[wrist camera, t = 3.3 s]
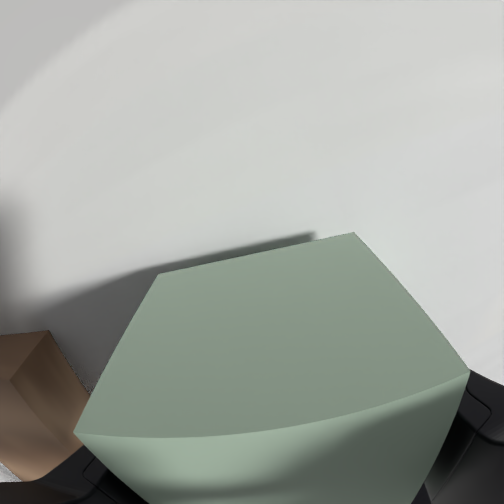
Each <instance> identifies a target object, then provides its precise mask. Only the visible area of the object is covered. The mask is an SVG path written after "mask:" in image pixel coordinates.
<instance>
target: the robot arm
mask: <svg viewBox="0 0 504 504" xmlns="http://www.w3.org/2000/svg"><path fill="white" fill-rule="evenodd" d="M469 370H470V369H469ZM470 371H471V372H470V375H469V378H468V381H467V384H466V387H465V390H464V393H463V396H462V399H461V402H460V404H459V407H458V410H457V412H456V415H455V417H454V420H453V422H452V425H451V427H450V429H449V432H448V434H447V436H446V439H445V441H444V443H443V445H442V447H441V449H440V452H439V454H438V456H437V458H436V460H435V462H434V464H433V466H432V468H431V470H430V471H429V473H428V475H427V477H426V479H425V481H424V482H423V484H422V486H421V488H420V489H419V491H418V493H417V495H416V496H415V498H414V500H413V501H412V503H411V504H504V386H503V385H501V384H499V383H497V382H494V381H492V380H490V379H488V378H486V377H484V376H482V375H480V374H478V373H476V372H474V371H472V370H470ZM0 504H149V503H148V502H147V501H145V500H144V499H143V498H142V497H140V496H139V495H138V494H137V493H135V492H134V491H133V490H132V489H131V488H129V487H128V486H127V485H126V484H125V483H124V482H123V481H121V480H120V479H119V478H118V477H117V476H116V475H115V474H114V473H113V472H111V471H110V470H109V469H108V468H107V467H106V466H105V465H104V464H103V463H102V462H101V461H100V460H99V459H98V458H97V457H96V456H95V455H94V454H93V453H92V452H91V451H90V450H89V449H88V448H87V447H86V446H85V445H83V446H81V447H80V448H79V449H78V450H77V451H75V452H74V453H73V454H72V455H71V456H69V457H68V458H67V459H66V460H64V461H63V462H62V463H60V464H59V465H58V466H56V467H55V468H54V469H53V470H51V471H50V472H49V473H47V474H46V475H44V476H43V477H41V478H39V479H36V480H33V481H25V482H0Z"/></svg>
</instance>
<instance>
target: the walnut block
mask: <svg viewBox="0 0 504 504" xmlns="http://www.w3.org/2000/svg"><path fill="white" fill-rule="evenodd" d="M89 398H90V395H89V393H88V392H87V390H86V389H85V387H84V386H83V385H82V383H81V382H80V380H79V379H78V377H77V376H76V374H75V373H74V371H73V370H72V368H71V367H70V365H69V363H68V362H67V360H66V359H65V357H64V355H63V354H62V352H61V351H60V349H59V347H58V346H57V344H56V342H55V340H54V339H53V337H52V335H51V333H50V332H49V330H47V331H38V332H29V333H20V334H10V335H0V462H1V463H2V464H3V465H4V466H6V467H7V468H8V469H9V470H10V471H11V472H12V473H13V474H15V475H16V476H17V477H18V478H19V479H20V480H22V481H23V482H25V481H33V480H36V479H39V478H41V477H43V476H44V475H46V474H47V473H49V472H50V471H51V470H53V469H54V468H55V467H56V466H58V465H59V464H60V463H62V462H63V461H64V460H66V459H67V458H68V457H69V456H71V455H72V454H73V453H74V452H75V451H77V450H78V449H79V448H80V447H81V446H83V445H84V444H83V443H82V442H81V441H80V440H79V438H78V437H77V436H76V435H75V434H74V433H73V431H74V429H75V427H76V425H77V423H78V421H79V419H80V417H81V415H82V412H83V410H84V408H85V406H86V404H87V402H88V400H89Z"/></svg>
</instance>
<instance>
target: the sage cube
mask: <svg viewBox="0 0 504 504" xmlns="http://www.w3.org/2000/svg"><path fill="white" fill-rule="evenodd" d="M470 372H471V371H470V370H469V368H468V367H467V366H466V364H465V363H464V362H463V360H462V359H461V358H460V356H459V355H458V354H457V352H456V351H455V350H454V348H453V347H452V346H451V344H450V343H449V342H448V340H447V339H446V338H445V337H444V335H443V334H442V333H441V331H440V330H439V329H438V328H437V326H436V325H435V324H434V323H433V321H432V320H431V319H430V318H429V317H428V315H427V314H426V313H425V312H424V310H423V309H422V308H421V307H420V306H419V304H418V303H417V302H416V301H415V300H414V298H413V297H412V296H411V295H410V294H409V293H408V291H407V290H406V289H405V288H404V287H403V286H402V284H401V283H400V282H399V281H398V280H397V279H396V278H395V276H394V275H393V274H392V273H391V272H390V271H389V270H388V268H387V267H386V266H385V265H384V264H383V263H382V262H381V261H380V260H379V258H378V257H377V256H376V255H375V254H374V253H373V252H372V251H371V250H370V249H369V248H368V247H367V245H366V244H365V243H364V242H363V241H362V240H361V239H360V238H359V237H358V236H357V235H356V234H355V233H354V232H352V233H348V234H343V235H338V236H334V237H329V238H324V239H320V240H315V241H311V242H306V243H301V244H297V245H292V246H287V247H283V248H278V249H273V250H269V251H264V252H259V253H255V254H250V255H245V256H241V257H236V258H231V259H227V260H222V261H217V262H213V263H208V264H203V265H199V266H194V267H189V268H184V269H180V270H175V271H170V272H166V273H161V274H158V276H157V277H156V279H155V281H154V282H153V284H152V286H151V287H150V289H149V291H148V292H147V294H146V296H145V297H144V299H143V301H142V302H141V304H140V306H139V308H138V309H137V311H136V313H135V315H134V316H133V318H132V320H131V322H130V323H129V325H128V327H127V329H126V330H125V332H124V334H123V336H122V338H121V339H120V341H119V343H118V345H117V347H116V348H115V350H114V352H113V354H112V356H111V358H110V360H109V361H108V363H107V365H106V367H105V369H104V371H103V373H102V375H101V377H100V379H99V381H98V382H97V384H96V386H95V388H94V390H93V392H92V394H91V396H90V398H89V400H88V402H87V404H86V406H85V408H84V410H83V412H82V415H81V417H80V419H79V421H78V423H77V425H76V427H75V429H74V431H73V433H74V434H75V435H76V436H77V437H78V438H79V440H80V441H81V442H82V443H83V444H84V445H85V446H86V447H87V448H88V449H89V450H90V451H91V452H92V453H93V454H94V455H95V456H96V457H97V458H98V459H99V460H100V461H101V462H102V463H103V464H104V465H105V466H106V467H107V468H108V469H109V470H110V471H111V472H113V473H114V474H115V475H116V476H117V477H118V478H119V479H120V480H121V481H123V482H124V483H125V484H126V485H127V486H128V487H129V488H131V489H132V490H133V491H134V492H135V493H137V494H138V495H139V496H140V497H142V498H143V499H144V500H145V501H147V502H148V503H149V504H411V503H412V501H413V500H414V498H415V496H416V495H417V493H418V491H419V489H420V488H421V486H422V484H423V482H424V481H425V479H426V477H427V475H428V473H429V471H430V470H431V468H432V466H433V464H434V462H435V460H436V458H437V456H438V454H439V452H440V449H441V447H442V445H443V443H444V441H445V439H446V436H447V434H448V432H449V429H450V427H451V425H452V422H453V420H454V417H455V415H456V412H457V410H458V407H459V404H460V402H461V399H462V396H463V393H464V390H465V387H466V384H467V381H468V378H469V375H470Z"/></svg>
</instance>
